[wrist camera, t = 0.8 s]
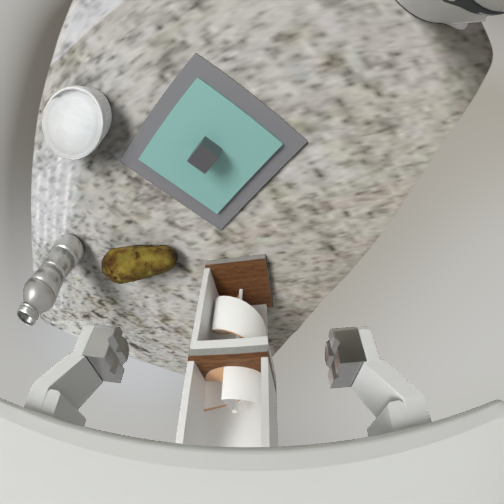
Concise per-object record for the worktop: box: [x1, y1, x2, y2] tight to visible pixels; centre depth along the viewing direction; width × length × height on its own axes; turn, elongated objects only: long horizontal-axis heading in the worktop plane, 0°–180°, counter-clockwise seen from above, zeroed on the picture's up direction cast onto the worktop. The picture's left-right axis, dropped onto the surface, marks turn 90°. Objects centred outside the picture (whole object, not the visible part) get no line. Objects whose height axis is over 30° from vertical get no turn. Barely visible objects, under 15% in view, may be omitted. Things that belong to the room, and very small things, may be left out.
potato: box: [102, 245, 177, 284], centre depth 50 cm, size 8×13×8 cm, turn 69°
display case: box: [176, 254, 278, 447], centre depth 44 cm, size 11×11×35 cm
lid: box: [138, 77, 283, 214], centre depth 39 cm, size 15×15×5 cm
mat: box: [120, 53, 307, 230], centre depth 42 cm, size 20×20×1 cm
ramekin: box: [42, 86, 112, 160], centre depth 36 cm, size 11×11×5 cm
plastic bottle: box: [17, 234, 84, 326], centre depth 45 cm, size 6×7×20 cm
